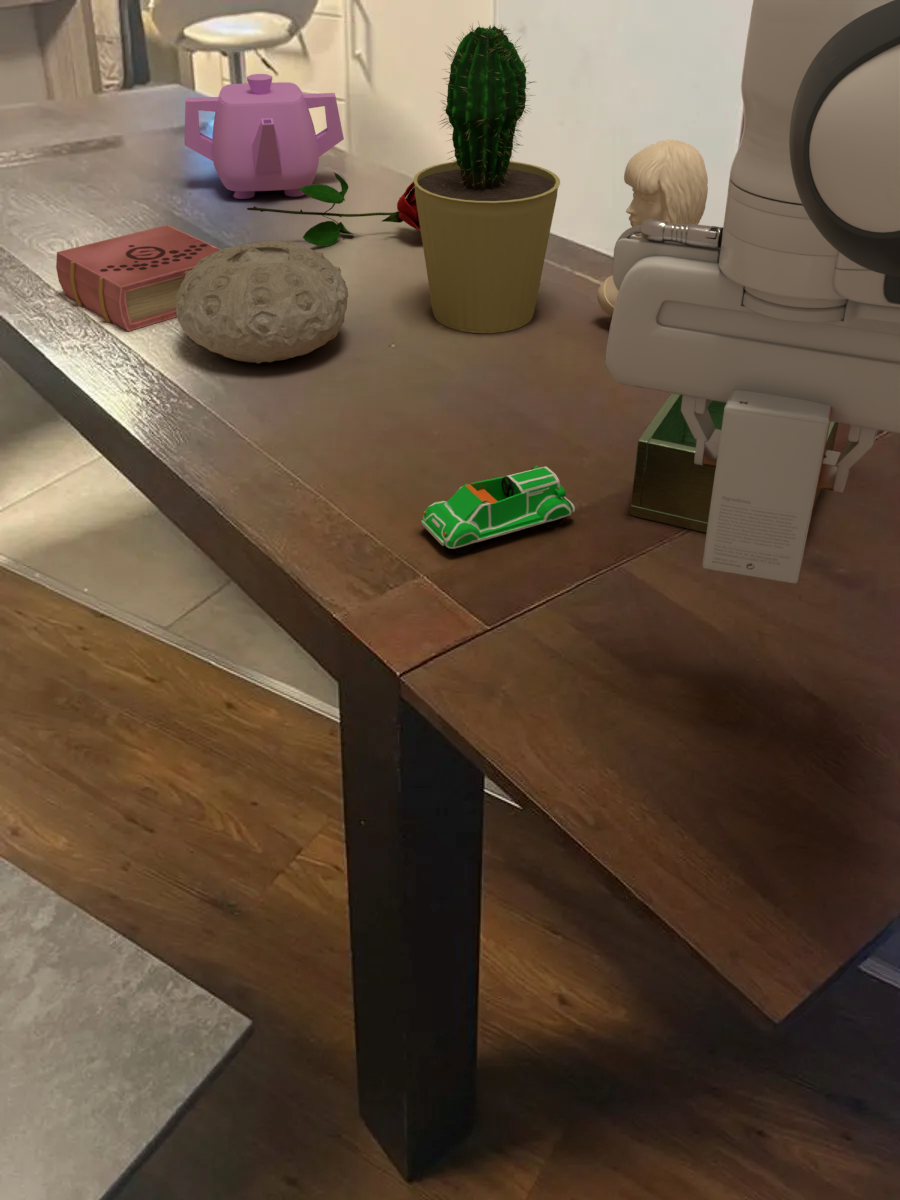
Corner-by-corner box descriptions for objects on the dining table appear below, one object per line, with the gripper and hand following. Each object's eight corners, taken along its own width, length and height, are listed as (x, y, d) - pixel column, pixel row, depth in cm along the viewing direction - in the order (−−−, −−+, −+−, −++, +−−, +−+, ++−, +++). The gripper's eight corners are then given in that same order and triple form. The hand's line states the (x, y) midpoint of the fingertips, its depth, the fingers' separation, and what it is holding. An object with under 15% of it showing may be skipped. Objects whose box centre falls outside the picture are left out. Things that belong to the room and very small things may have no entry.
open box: (827, 476, 103) (843, 403, 99) (795, 554, 93) (811, 476, 89) (675, 444, 108) (684, 373, 104) (629, 515, 98) (637, 440, 93)
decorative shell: (146, 358, 122) (131, 263, 117) (246, 301, 135) (237, 213, 129) (291, 393, 116) (283, 295, 110) (381, 329, 129) (378, 238, 123)
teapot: (275, 215, 160) (266, 97, 152) (176, 193, 168) (161, 79, 160) (359, 181, 174) (355, 71, 165) (263, 162, 182) (254, 56, 173)
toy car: (544, 495, 100) (547, 450, 98) (577, 523, 96) (581, 477, 94) (418, 530, 96) (417, 483, 93) (447, 561, 92) (447, 514, 89)
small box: (797, 588, 68) (831, 421, 62) (699, 570, 69) (723, 406, 63) (809, 519, 74) (841, 362, 68) (719, 504, 75) (743, 349, 69)
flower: (249, 160, 141) (489, 165, 149) (241, 178, 150) (468, 182, 158) (254, 238, 142) (491, 239, 150) (246, 251, 151) (471, 251, 159)
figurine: (582, 314, 133) (596, 127, 121) (657, 304, 135) (677, 121, 123) (635, 362, 122) (656, 163, 111) (715, 350, 125) (743, 155, 113)
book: (58, 296, 136) (49, 253, 133) (172, 265, 145) (167, 224, 142) (121, 333, 128) (113, 288, 125) (239, 298, 136) (234, 255, 133)
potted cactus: (513, 352, 124) (525, 41, 107) (388, 323, 130) (380, 24, 113) (575, 304, 135) (595, 15, 117) (457, 279, 141) (460, 1, 124)
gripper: (597, 231, 62) (583, 463, 70) (1014, 286, 55) (945, 537, 63) (634, 199, 67) (616, 419, 75) (1022, 245, 60) (957, 484, 68)
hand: (769, 474), depth 69 cm, fingers closed on small box, 6 cm apart
